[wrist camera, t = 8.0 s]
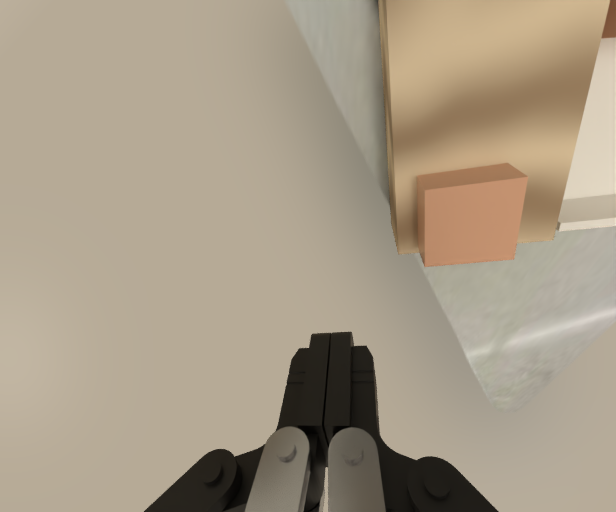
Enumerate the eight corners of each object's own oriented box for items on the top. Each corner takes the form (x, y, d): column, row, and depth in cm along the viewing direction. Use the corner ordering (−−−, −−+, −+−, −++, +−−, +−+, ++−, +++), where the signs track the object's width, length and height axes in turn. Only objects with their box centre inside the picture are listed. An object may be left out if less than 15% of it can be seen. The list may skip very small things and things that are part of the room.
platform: (373, -72, 17) (380, -114, 13) (575, -133, 15) (659, -204, 11) (391, 222, 26) (398, 254, 22) (518, 208, 24) (553, 240, 20)
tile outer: (416, 175, 19) (424, 190, 17) (507, 162, 18) (528, 176, 16) (417, 246, 22) (424, 266, 19) (497, 238, 21) (513, 259, 18)
